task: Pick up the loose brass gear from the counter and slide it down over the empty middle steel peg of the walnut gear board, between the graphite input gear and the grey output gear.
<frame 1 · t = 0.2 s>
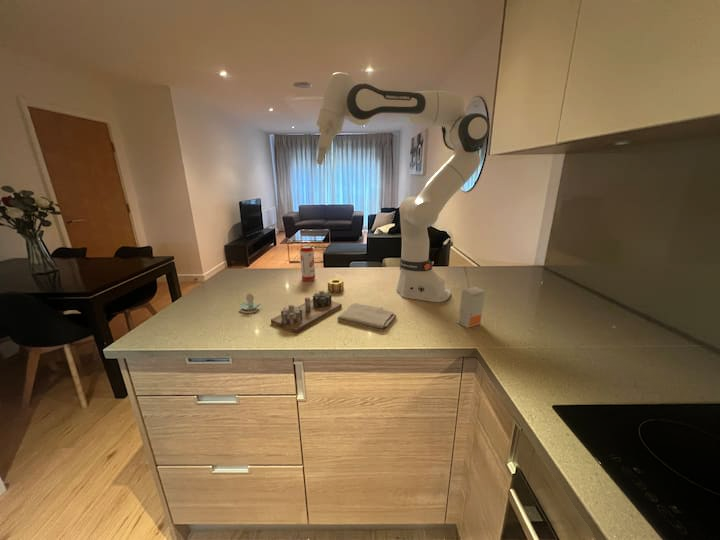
hand: (319, 163, 105), 51 cm above the worktop, tool tilted 20°, fingers open, 8 cm apart
beer can: (308, 279, 139), on the worktop
gear board: (308, 315, 103), on the worktop
pacifier: (249, 311, 107), on the worktop
washcloth: (367, 320, 100), on the worktop
skincare box: (469, 324, 96), on the worktop
brass gear: (335, 290, 125), on the worktop
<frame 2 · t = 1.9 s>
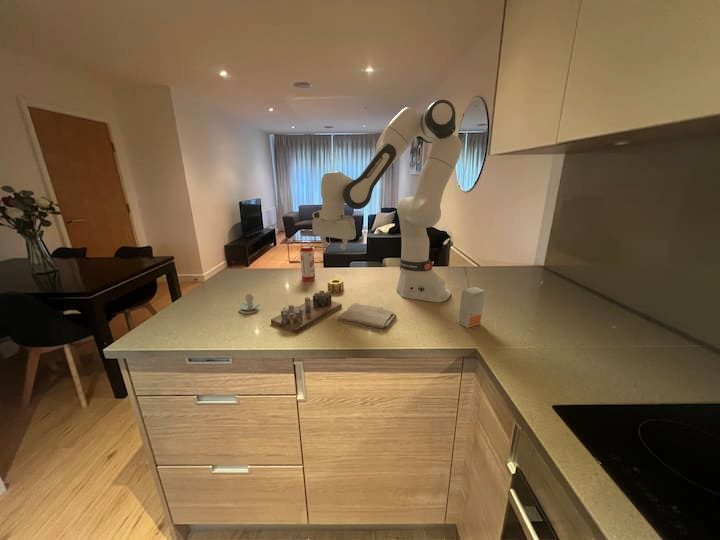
hand: (334, 248, 120), 19 cm above the worktop, tool pointing down, fingers open, 8 cm apart
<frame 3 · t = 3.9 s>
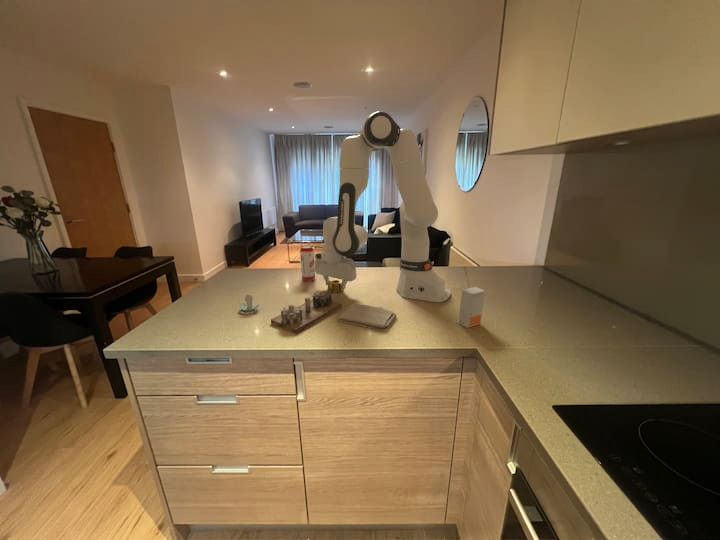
hand: (335, 286, 125), 2 cm above the worktop, tool pointing down, fingers closed on brass gear, 7 cm apart
brass gear: (335, 290, 125), on the worktop, touching gripper
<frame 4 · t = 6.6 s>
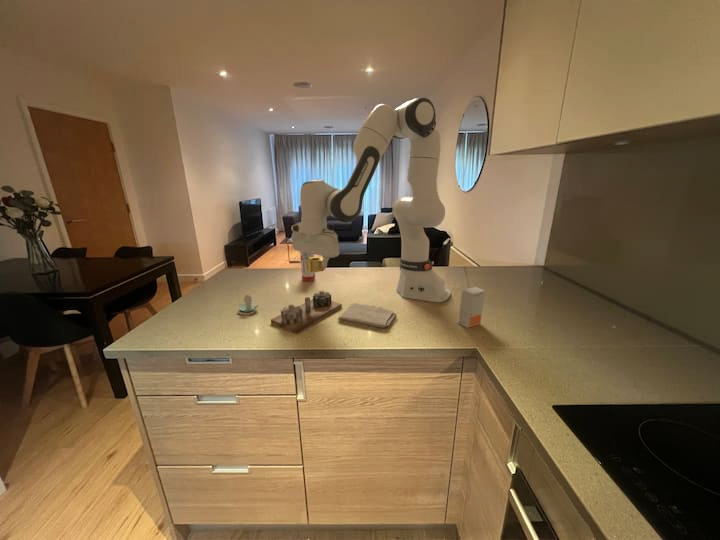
hand: (315, 265, 106), 16 cm above the worktop, tool pointing down, fingers closed on brass gear, 7 cm apart
brass gear: (316, 269, 106), point 14 cm above the worktop, touching gripper
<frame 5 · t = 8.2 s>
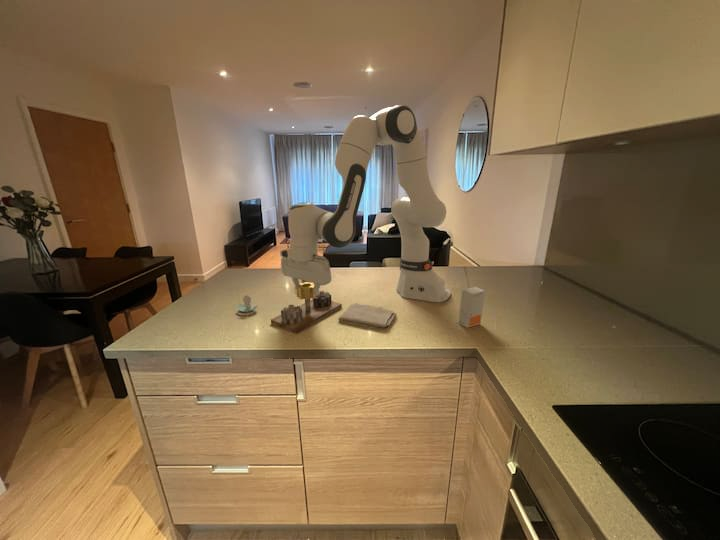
hand: (306, 291, 100), 9 cm above the worktop, tool pointing down, fingers closed on brass gear, 7 cm apart
brass gear: (307, 296, 100), point 7 cm above the worktop, touching gripper
when the fingers open (5 cm above the worktop, at t = 9.6 s): brass gear drops 1 cm, resting on gear board.
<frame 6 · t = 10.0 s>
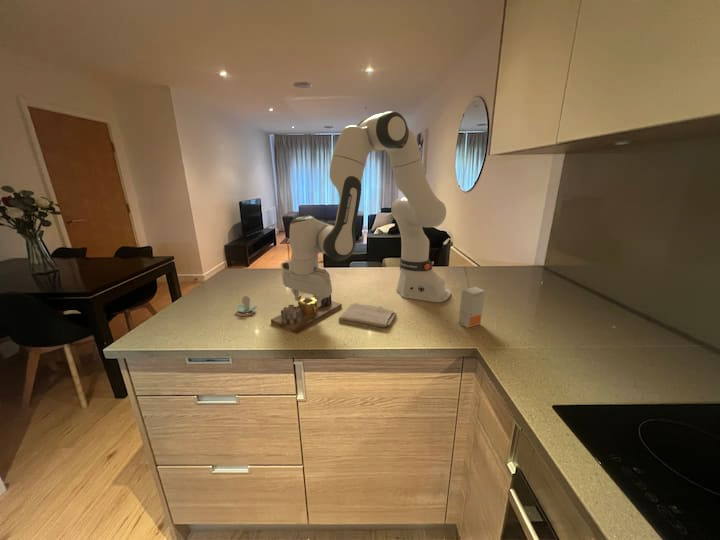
hand: (307, 303, 101), 5 cm above the worktop, tool pointing down, fingers open, 8 cm apart
brass gear: (308, 311, 102), point 1 cm above the worktop, touching gear board
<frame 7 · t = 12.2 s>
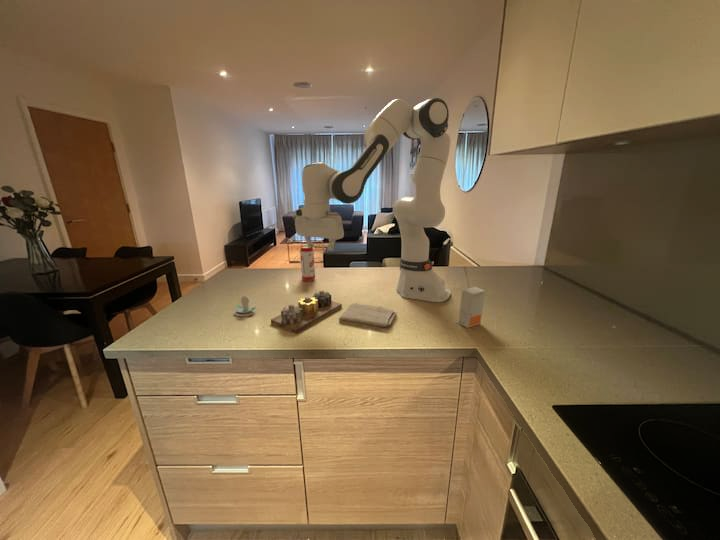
hand: (320, 249, 107), 21 cm above the worktop, tool pointing down, fingers open, 8 cm apart
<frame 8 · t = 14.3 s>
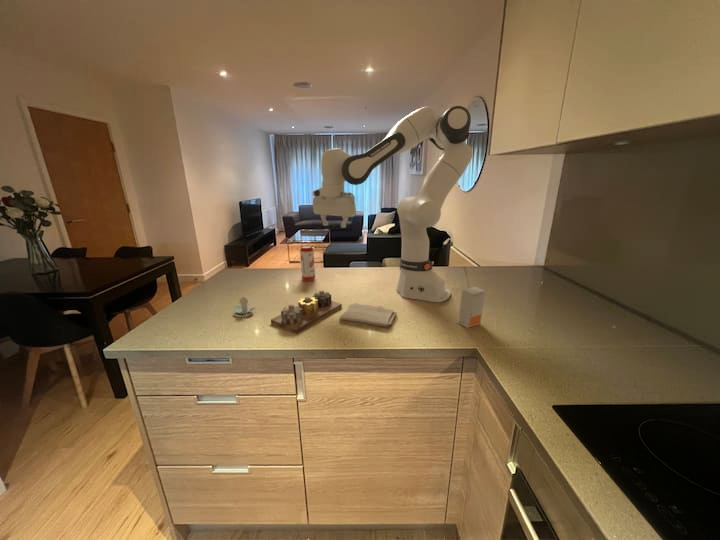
hand: (334, 226, 120), 27 cm above the worktop, tool pointing down, fingers open, 8 cm apart
at the end: brass gear 0.1 cm off-centre on the gear board, point 1.5 cm above the gear board's base; brass gear tilted 0°; the gripper is holding nothing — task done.
